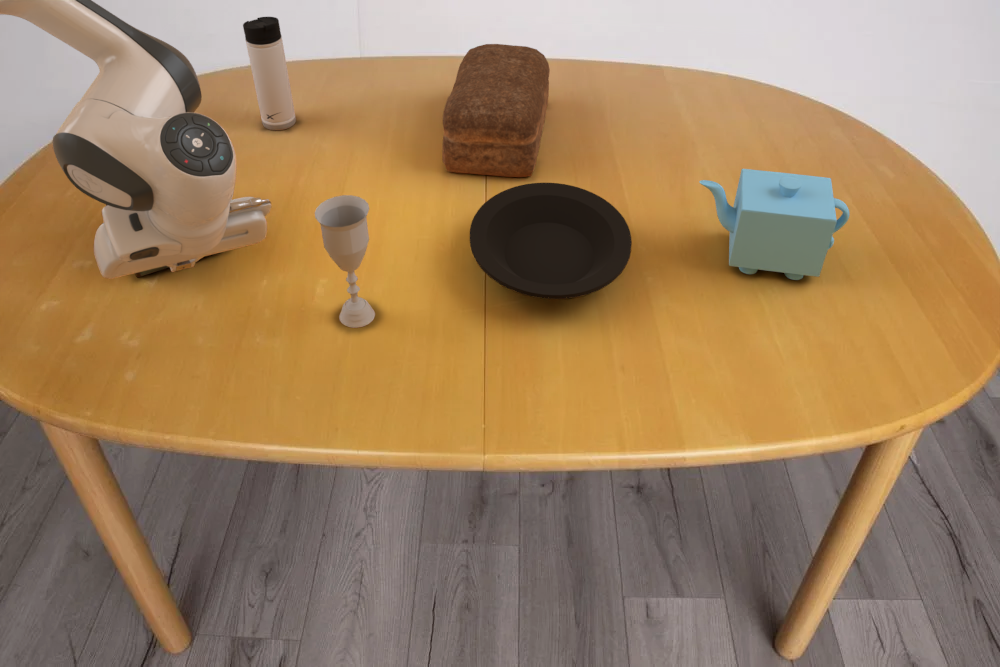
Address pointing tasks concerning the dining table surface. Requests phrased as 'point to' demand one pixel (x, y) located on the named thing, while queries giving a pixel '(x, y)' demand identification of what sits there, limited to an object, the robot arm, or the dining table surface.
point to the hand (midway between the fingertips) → (180, 264)
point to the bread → (496, 111)
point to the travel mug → (270, 72)
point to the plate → (550, 240)
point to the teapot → (779, 222)
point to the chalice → (347, 249)
